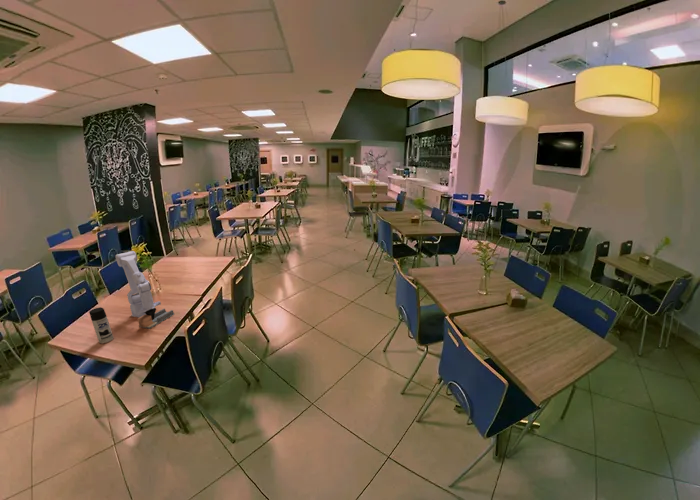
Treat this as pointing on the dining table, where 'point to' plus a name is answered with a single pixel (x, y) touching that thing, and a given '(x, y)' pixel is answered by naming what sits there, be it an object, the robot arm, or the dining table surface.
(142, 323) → the block
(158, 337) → the dining table surface
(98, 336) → the spray can
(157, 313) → the chute
